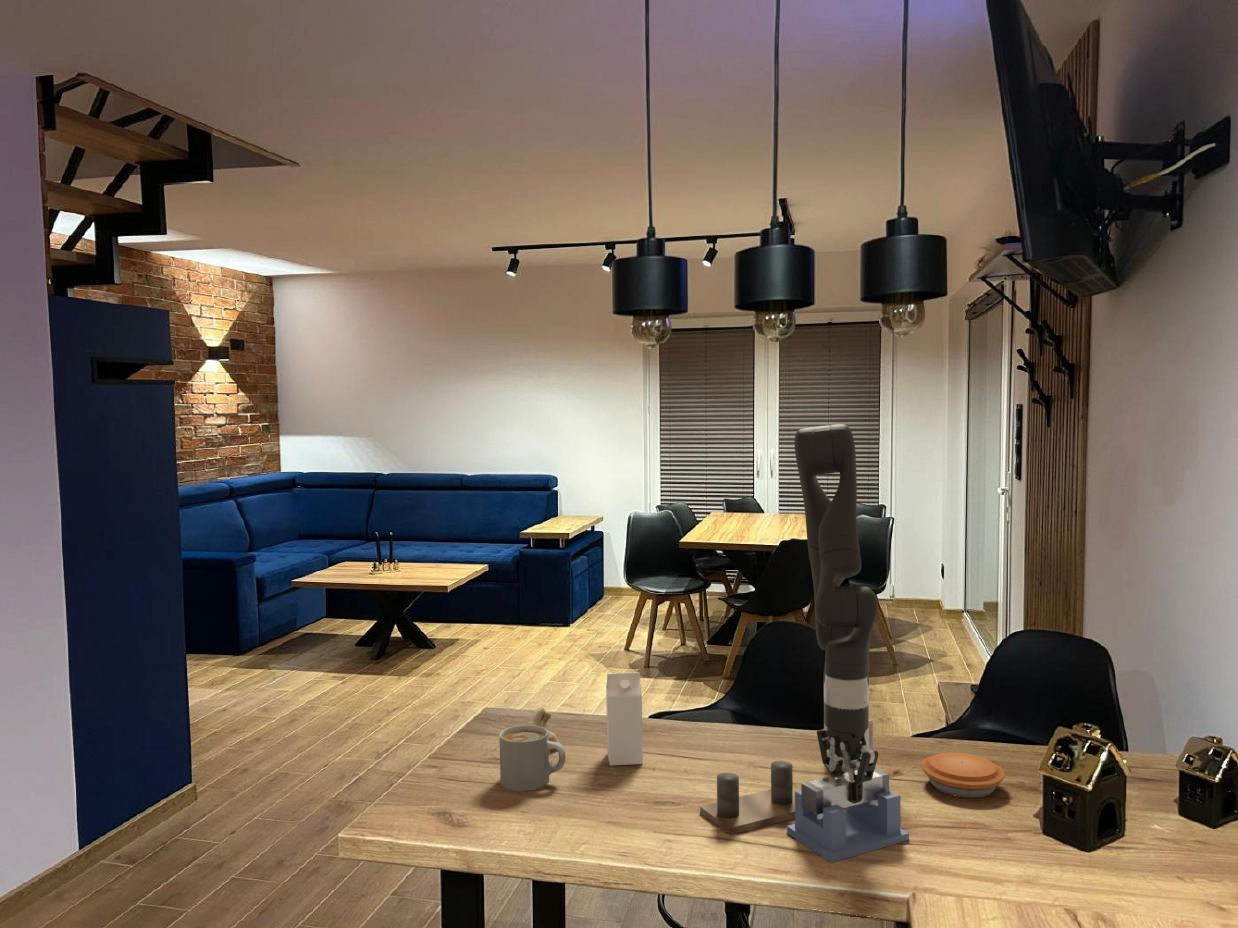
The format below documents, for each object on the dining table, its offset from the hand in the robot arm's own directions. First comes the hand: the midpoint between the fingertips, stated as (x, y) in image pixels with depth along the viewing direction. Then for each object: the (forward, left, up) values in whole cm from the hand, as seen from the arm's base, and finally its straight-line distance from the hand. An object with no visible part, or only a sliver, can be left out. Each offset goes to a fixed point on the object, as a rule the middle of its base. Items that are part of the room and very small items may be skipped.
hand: (846, 796), depth 154 cm
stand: (+9, -15, -7) cm, 19 cm away
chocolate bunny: (+33, -63, -7) cm, 71 cm away
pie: (-34, -6, -7) cm, 35 cm away
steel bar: (0, 0, -1) cm, 1 cm away
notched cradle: (0, 0, -7) cm, 7 cm away
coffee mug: (+41, -48, -7) cm, 63 cm away
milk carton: (+19, -50, -7) cm, 54 cm away
